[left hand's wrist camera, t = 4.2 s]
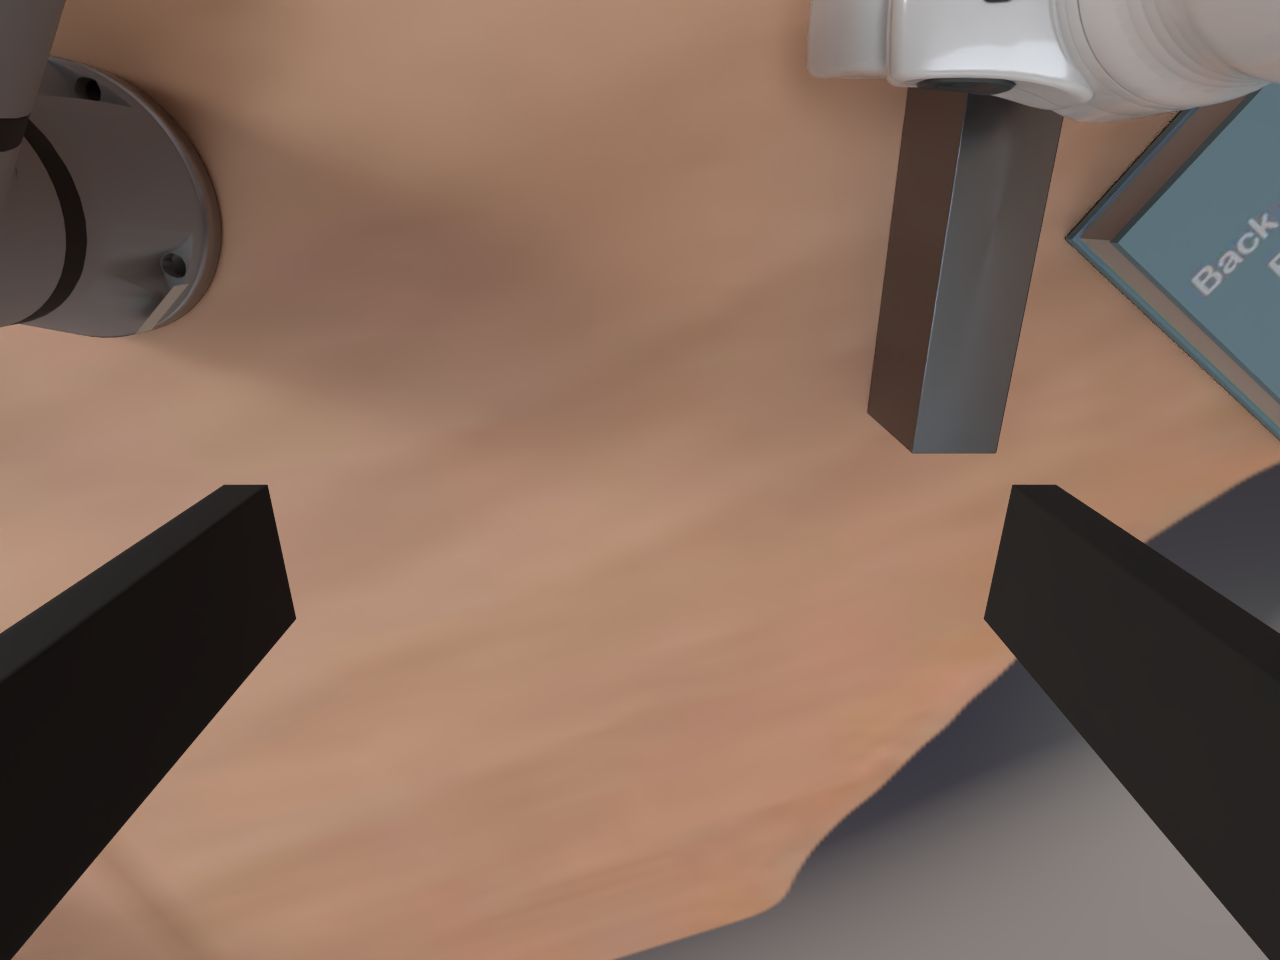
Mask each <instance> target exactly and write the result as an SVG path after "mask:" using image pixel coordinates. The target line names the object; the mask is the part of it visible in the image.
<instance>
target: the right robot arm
mask: <svg viewBox="0 0 1280 960" xmlns="http://www.w3.org/2000/svg"><path fill="white" fill-rule="evenodd" d="M807 69H808V72H809V74H810V75H811V76H813V77H815V78H819V79H842V78H886V79H887V81H888V82H889V83H890V84H891V85H893V86H896V87H918V89H920V90H937V91H953V92H963V93H971V94H977V95H992V96H997V97H1000V98H1004V99H1007V100H1011V101H1014V102H1017V103H1020V104H1024V105H1027V106H1031V107H1034V108H1039V109H1045V110H1052V111H1054V112H1056V113H1058V114H1060V115H1062V116H1064V117H1067V118H1070V119H1073V120H1076V121H1081V122H1087V123H1112V122H1119V121H1125V120H1130V119H1136V118H1141V117H1146V116H1152V115H1158V114H1163V113H1169V112H1174V111H1180V110H1186V109H1191V108H1196V107H1202V106H1207V105H1212V104H1217V103H1222V102H1225V101H1229V100H1232V99H1236V98H1239V97H1241V96H1244V95H1246V94H1249V93H1251V92H1254V91H1257V90H1259V89H1261V88H1263V87H1265V86H1267V85H1269V84H1270V83H1277V84H1280V0H812V1H811V8H810V18H809V27H808V42H807Z"/></svg>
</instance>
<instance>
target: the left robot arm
mask: <svg viewBox="0 0 1280 960" xmlns="http://www.w3.org/2000/svg"><path fill="white" fill-rule="evenodd" d="M65 1H66V0H0V327H4V326H9V325H14V324H23V325H29V326H34V327H40V328H46V329H51V330H57V331H62V332H67V333H73V334H78V335H85V336H91V337H103V338H104V337H122V336H129V335H133V334H138V333H142V332H146V331H150V330H153V329H157V328H160V327H163V326H165V325H168V324H170V323H172V322H174V321H176V320H177V319H179V318H180V317H182V316H183V315H185V314H186V313H187V312H188V311H189V310H191V309H192V308H193V307H194V306H195V305H196V304H197V302H198V301H199V300H200V299H201V297H202V296H203V295H204V293H205V292H206V290H207V288H208V287H209V285H210V283H211V281H212V278H213V276H214V273H215V271H216V267H217V263H218V260H219V253H220V246H221V223H220V215H219V208H218V204H217V200H216V195H215V192H214V189H213V186H212V183H211V180H210V178H209V175H208V173H207V171H206V168H205V166H204V164H203V162H202V160H201V159H200V157H199V155H198V153H197V152H196V150H195V148H194V147H193V145H192V143H191V142H190V141H189V139H188V138H187V136H186V135H185V134H184V132H183V131H182V130H181V128H180V127H179V126H178V125H177V124H176V122H175V121H174V120H173V119H172V118H171V117H170V116H169V115H168V114H167V113H166V112H165V111H164V110H163V109H162V108H161V107H160V106H159V105H158V104H157V103H156V102H154V101H153V100H152V99H151V98H150V97H148V96H147V95H146V94H144V93H143V92H142V91H140V90H139V89H138V88H136V87H135V86H133V85H131V84H130V83H128V82H127V81H125V80H123V79H121V78H119V77H117V76H115V75H113V74H111V73H109V72H107V71H104V70H102V69H99V68H96V67H93V66H90V65H86V64H83V63H79V62H75V61H72V60H68V59H64V58H60V57H55V56H50V55H49V54H50V50H51V47H52V44H53V41H54V37H55V34H56V31H57V27H58V24H59V21H60V17H61V14H62V11H63V8H64V4H65ZM295 620H296V616H295V611H294V607H293V602H292V597H291V592H290V588H289V583H288V578H287V574H286V569H285V564H284V560H283V555H282V550H281V546H280V541H279V536H278V532H277V527H276V522H275V518H274V513H273V508H272V503H271V499H270V494H269V489H268V485H223V486H222V487H220V488H219V489H217V490H216V491H214V492H213V493H211V494H210V495H208V496H207V497H205V498H204V499H202V500H201V501H199V502H198V503H196V504H195V505H193V506H192V507H190V508H189V509H187V510H185V511H184V512H182V513H181V514H179V515H178V516H176V517H175V518H173V519H172V520H170V521H169V522H167V523H166V524H164V525H163V526H161V527H160V528H158V529H157V530H155V531H154V532H152V533H151V534H149V535H148V536H146V537H145V538H143V539H142V540H140V541H139V542H137V543H136V544H134V545H133V546H131V547H130V548H128V549H127V550H125V551H124V552H122V553H121V554H119V555H118V556H116V557H115V558H113V559H112V560H110V561H109V562H107V563H106V564H104V565H103V566H101V567H100V568H98V569H97V570H95V571H94V572H92V573H91V574H89V575H88V576H86V577H85V578H83V579H82V580H80V581H79V582H77V583H76V584H74V585H73V586H71V587H70V588H68V589H67V590H65V591H64V592H62V593H61V594H59V595H58V596H56V597H55V598H53V599H52V600H50V601H49V602H47V603H46V604H44V605H43V606H41V607H40V608H38V609H37V610H35V611H34V612H32V613H31V614H29V615H28V616H26V617H25V618H23V619H22V620H20V621H19V622H17V623H16V624H14V625H13V626H11V627H10V628H8V629H7V630H5V631H4V632H2V633H1V634H0V960H11V959H12V958H13V956H14V955H15V954H16V953H17V952H18V950H19V949H20V948H21V947H22V946H23V944H24V943H25V942H26V941H27V940H28V938H29V937H30V936H31V935H32V934H33V933H34V931H35V930H36V929H37V928H38V927H39V925H40V924H41V923H42V922H43V921H44V919H45V918H46V917H47V916H48V915H49V913H50V912H51V911H52V910H53V909H54V907H55V906H56V905H57V904H58V903H59V901H60V900H61V899H62V898H63V897H64V896H65V894H66V893H67V892H68V891H69V890H70V888H71V887H72V886H73V885H74V884H75V882H76V881H77V880H78V879H79V878H80V876H81V875H82V874H83V873H84V872H85V870H86V869H87V868H88V867H89V866H90V864H91V863H92V862H93V861H94V860H95V858H96V857H97V856H98V855H99V854H100V853H101V851H102V850H103V849H104V848H105V847H106V845H107V844H108V843H109V842H110V841H111V839H112V838H113V837H114V836H115V835H116V833H117V832H118V831H119V830H120V829H121V827H122V826H123V825H124V824H125V823H126V821H127V820H128V819H129V818H130V817H131V815H132V814H133V813H134V812H135V811H136V810H137V808H138V807H139V806H140V805H141V804H142V802H143V801H144V800H145V799H146V798H147V796H148V795H149V794H150V793H151V792H152V790H153V789H154V788H155V787H156V786H157V784H158V783H159V782H160V781H161V780H162V778H163V777H164V776H165V775H166V774H167V773H168V771H169V770H170V769H171V768H172V767H173V765H174V764H175V763H176V762H177V761H178V759H179V758H180V757H181V756H182V755H183V753H184V752H185V751H186V750H187V749H188V747H189V746H190V745H191V744H192V743H193V741H194V740H195V739H196V738H197V737H198V735H199V734H200V733H201V732H202V731H203V730H204V728H205V727H206V726H207V725H208V724H209V722H210V721H211V720H212V719H213V718H214V716H215V715H216V714H217V713H218V712H219V710H220V709H221V708H222V707H223V706H224V704H225V703H226V702H227V701H228V700H229V698H230V697H231V696H232V695H233V694H234V692H235V691H236V690H237V689H238V688H239V687H240V685H241V684H242V683H243V682H244V681H245V679H246V678H247V677H248V676H249V675H250V673H251V672H252V671H253V670H254V669H255V667H256V666H257V665H258V664H259V663H260V661H261V660H262V659H263V658H264V657H265V655H266V654H267V653H268V652H269V651H270V650H271V648H272V647H273V646H274V645H275V644H276V642H277V641H278V640H279V639H280V638H281V636H282V635H283V634H284V633H285V632H286V630H287V629H288V628H289V627H290V626H291V624H292V623H293V622H294V621H295ZM984 620H985V621H986V622H987V623H988V624H989V626H990V627H991V628H992V629H993V630H994V632H995V633H996V634H997V635H998V636H999V638H1000V639H1001V640H1002V641H1003V642H1004V644H1005V645H1006V646H1007V647H1008V648H1009V650H1010V651H1011V652H1012V653H1013V654H1014V655H1015V657H1016V658H1017V659H1018V660H1019V661H1020V663H1021V664H1022V665H1023V666H1024V667H1025V669H1026V670H1027V671H1028V672H1029V673H1030V675H1031V676H1032V677H1033V678H1034V679H1035V680H1036V682H1037V683H1038V684H1039V685H1040V687H1041V688H1042V689H1043V690H1044V691H1045V692H1046V694H1047V695H1048V696H1049V697H1050V698H1051V700H1052V701H1053V702H1054V703H1055V704H1056V706H1057V707H1058V708H1059V709H1060V710H1061V712H1062V713H1063V714H1064V715H1065V716H1066V718H1067V719H1068V720H1069V721H1070V722H1071V724H1072V725H1073V726H1074V727H1075V728H1076V729H1077V731H1078V732H1079V733H1080V734H1081V735H1082V737H1083V738H1084V739H1085V740H1086V741H1087V743H1088V744H1089V745H1090V746H1091V747H1092V749H1093V750H1094V751H1095V752H1096V753H1097V755H1098V756H1099V757H1100V758H1101V759H1102V761H1103V762H1104V763H1105V764H1106V765H1107V767H1108V768H1109V769H1110V770H1111V771H1112V772H1113V774H1114V775H1115V776H1116V777H1117V778H1118V780H1119V781H1120V782H1121V783H1122V784H1123V786H1124V787H1125V788H1126V789H1127V790H1128V792H1129V793H1130V794H1131V795H1132V796H1133V798H1134V799H1135V800H1136V801H1137V802H1138V804H1139V805H1140V806H1141V807H1142V808H1143V810H1144V811H1145V812H1146V813H1147V814H1148V815H1149V817H1150V818H1151V819H1152V820H1153V821H1154V823H1155V824H1156V825H1157V826H1158V827H1159V829H1160V830H1161V831H1162V832H1163V833H1164V835H1165V836H1166V837H1167V838H1168V839H1169V840H1170V842H1171V843H1172V844H1173V845H1174V847H1175V848H1176V849H1177V850H1178V851H1179V853H1180V854H1181V855H1182V856H1183V857H1184V858H1185V860H1186V861H1187V862H1188V863H1189V864H1190V866H1191V867H1192V868H1193V869H1194V870H1195V872H1196V873H1197V874H1198V875H1199V876H1200V878H1201V879H1202V880H1203V881H1204V882H1205V884H1206V885H1207V886H1208V887H1209V888H1210V890H1211V891H1212V892H1213V893H1214V894H1215V896H1216V897H1217V898H1218V899H1219V900H1220V901H1221V903H1222V904H1223V905H1224V906H1225V907H1226V909H1227V910H1228V911H1229V912H1230V913H1231V915H1232V916H1233V917H1234V918H1235V919H1236V921H1237V922H1238V923H1239V924H1240V925H1241V927H1242V928H1243V929H1244V930H1245V931H1246V932H1247V934H1248V935H1249V936H1250V937H1251V938H1252V940H1253V941H1254V942H1255V943H1256V944H1257V946H1258V947H1259V948H1260V949H1261V950H1262V952H1263V953H1264V954H1265V955H1266V956H1267V958H1268V959H1269V960H1280V633H1278V632H1276V631H1275V630H1273V629H1272V628H1270V627H1269V626H1267V625H1266V624H1264V623H1263V622H1261V621H1260V620H1258V619H1257V618H1255V617H1254V616H1252V615H1251V614H1249V613H1248V612H1246V611H1245V610H1243V609H1242V608H1240V607H1239V606H1237V605H1236V604H1234V603H1233V602H1231V601H1230V600H1228V599H1227V598H1225V597H1224V596H1222V595H1221V594H1219V593H1218V592H1216V591H1215V590H1213V589H1212V588H1210V587H1209V586H1207V585H1206V584H1204V583H1203V582H1201V581H1200V580H1198V579H1197V578H1195V577H1194V576H1192V575H1191V574H1189V573H1188V572H1186V571H1185V570H1183V569H1182V568H1180V567H1179V566H1177V565H1176V564H1174V563H1173V562H1171V561H1170V560H1168V559H1167V558H1165V557H1164V556H1162V555H1161V554H1159V553H1158V552H1156V551H1155V550H1153V549H1152V548H1150V547H1149V546H1147V545H1146V544H1144V543H1143V542H1141V541H1140V540H1138V539H1137V538H1135V537H1134V536H1132V535H1131V534H1129V533H1128V532H1126V531H1125V530H1123V529H1122V528H1120V527H1119V526H1117V525H1116V524H1114V523H1113V522H1111V521H1110V520H1108V519H1107V518H1105V517H1104V516H1102V515H1101V514H1099V513H1098V512H1096V511H1095V510H1093V509H1091V508H1090V507H1088V506H1087V505H1085V504H1084V503H1082V502H1081V501H1079V500H1078V499H1076V498H1075V497H1073V496H1072V495H1070V494H1069V493H1067V492H1066V491H1064V490H1063V489H1061V488H1060V487H1058V486H1057V485H1012V489H1011V494H1010V499H1009V503H1008V508H1007V513H1006V518H1005V522H1004V527H1003V532H1002V536H1001V541H1000V546H999V550H998V555H997V560H996V564H995V569H994V574H993V578H992V583H991V588H990V592H989V597H988V602H987V607H986V611H985V616H984Z"/></svg>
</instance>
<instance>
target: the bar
mask: <svg viewBox="0 0 1280 960" xmlns="http://www.w3.org/2000/svg"><path fill="white" fill-rule="evenodd" d="M1063 117H1064V116H1062V115H1060V114H1058V113H1056V112H1054V111H1052V110H1045V109H1039V108H1034V107H1031V106H1027V105H1024V104H1020V103H1017V102H1014V101H1011V100H1007V99H1004V98H1000V97H997V96H992V95H977V94H971V93H963V92H953V91H937V90H920V89H918V87H908V94H907V102H906V110H905V118H904V126H903V134H902V142H901V150H900V158H899V166H898V173H897V181H896V189H895V197H894V205H893V213H892V221H891V229H890V237H889V245H888V253H887V261H886V269H885V277H884V285H883V293H882V301H881V309H880V317H879V325H878V333H877V341H876V349H875V357H874V365H873V373H872V381H871V389H870V397H869V405H868V414H869V415H870V416H871V417H873V418H874V419H875V420H876V421H877V422H878V423H879V424H880V425H881V426H883V427H884V428H885V429H886V430H887V431H888V432H889V433H890V434H891V435H893V436H894V437H895V438H896V439H897V440H898V441H899V442H900V443H901V444H903V445H904V446H905V447H906V448H907V449H908V450H909V451H910V452H911V453H996V451H997V446H998V441H999V436H1000V431H1001V426H1002V421H1003V416H1004V411H1005V406H1006V401H1007V396H1008V391H1009V386H1010V381H1011V376H1012V371H1013V366H1014V361H1015V356H1016V351H1017V346H1018V341H1019V336H1020V331H1021V326H1022V321H1023V316H1024V311H1025V306H1026V301H1027V296H1028V291H1029V286H1030V281H1031V276H1032V271H1033V266H1034V261H1035V256H1036V251H1037V246H1038V241H1039V236H1040V231H1041V226H1042V221H1043V216H1044V211H1045V206H1046V201H1047V197H1048V192H1049V187H1050V182H1051V177H1052V172H1053V167H1054V162H1055V157H1056V152H1057V147H1058V142H1059V137H1060V132H1061V127H1062V122H1063Z"/></svg>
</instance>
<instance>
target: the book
mask: <svg viewBox="0 0 1280 960" xmlns="http://www.w3.org/2000/svg"><path fill="white" fill-rule="evenodd" d="M1066 240H1067V241H1068V242H1069V243H1070V244H1071V245H1072V246H1073V247H1074V248H1075V249H1076V250H1077V251H1078V252H1080V253H1081V254H1082V255H1083V256H1084V257H1085V258H1086V259H1087V260H1088V261H1089V262H1090V263H1091V264H1092V265H1093V266H1094V267H1096V268H1097V269H1098V270H1099V271H1100V272H1101V273H1102V274H1103V275H1104V276H1105V277H1106V278H1107V279H1108V280H1109V281H1110V282H1112V283H1113V284H1114V285H1115V286H1116V287H1117V288H1118V289H1119V290H1120V291H1121V292H1122V293H1123V294H1124V295H1125V296H1126V297H1127V298H1129V299H1130V300H1131V301H1132V302H1133V303H1134V304H1135V305H1136V306H1137V307H1138V308H1139V309H1140V310H1141V311H1142V312H1143V313H1145V314H1146V315H1147V316H1148V317H1149V318H1150V319H1151V320H1152V321H1153V322H1154V323H1155V324H1156V325H1157V326H1158V327H1159V328H1161V329H1162V330H1163V331H1164V332H1165V333H1166V334H1167V335H1168V336H1169V337H1170V338H1171V339H1172V340H1173V341H1174V342H1175V343H1177V344H1178V345H1179V346H1180V347H1181V348H1182V349H1183V350H1184V351H1185V352H1186V353H1187V354H1188V355H1189V356H1190V357H1191V358H1193V359H1194V360H1195V361H1196V362H1197V363H1198V364H1199V365H1200V366H1201V367H1202V368H1203V369H1204V370H1205V371H1206V372H1207V373H1209V374H1210V375H1211V376H1212V377H1213V378H1214V379H1215V380H1216V381H1217V382H1218V383H1219V384H1220V385H1221V386H1222V387H1223V388H1225V389H1226V390H1227V391H1228V392H1229V393H1230V394H1231V395H1232V396H1233V397H1234V398H1235V399H1236V400H1237V401H1238V402H1239V403H1241V404H1242V405H1243V406H1244V407H1245V408H1246V409H1247V410H1248V411H1249V412H1250V413H1251V414H1252V415H1253V416H1254V417H1255V418H1257V419H1258V420H1259V421H1260V422H1261V423H1262V424H1263V425H1264V426H1265V427H1266V428H1267V429H1268V430H1269V431H1270V432H1271V433H1272V434H1274V435H1275V436H1276V437H1277V438H1278V439H1279V440H1280V84H1277V83H1270V84H1269V85H1267V86H1265V87H1263V88H1261V89H1259V90H1257V91H1254V92H1251V93H1249V94H1246V95H1244V96H1241V97H1239V98H1236V99H1232V100H1229V101H1225V102H1222V103H1217V104H1212V105H1207V106H1202V107H1196V108H1191V109H1186V110H1182V111H1181V112H1180V114H1179V115H1178V116H1177V117H1176V118H1175V119H1174V120H1173V121H1172V122H1171V123H1170V125H1169V126H1168V127H1167V128H1166V129H1165V130H1164V131H1163V132H1162V133H1161V134H1160V136H1159V137H1158V138H1157V139H1156V140H1155V141H1154V142H1153V143H1152V144H1151V145H1150V147H1149V148H1148V149H1147V150H1146V151H1145V152H1144V153H1143V154H1142V155H1141V156H1140V157H1139V159H1138V160H1137V161H1136V162H1135V163H1134V164H1133V165H1132V166H1131V167H1130V168H1129V170H1128V171H1127V172H1126V173H1125V174H1124V175H1123V176H1122V177H1121V178H1120V179H1119V181H1118V182H1117V183H1116V184H1115V185H1114V186H1113V187H1112V188H1111V189H1110V190H1109V192H1108V193H1107V194H1106V195H1105V196H1104V197H1103V198H1102V199H1101V200H1100V201H1099V202H1098V204H1097V205H1096V206H1095V207H1094V208H1093V209H1092V210H1091V211H1090V212H1089V213H1088V215H1087V216H1086V217H1085V218H1084V219H1083V220H1082V221H1081V222H1080V223H1079V224H1078V226H1077V227H1076V228H1075V229H1074V230H1073V231H1072V232H1071V233H1070V234H1069V235H1068V237H1067V238H1066Z"/></svg>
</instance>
